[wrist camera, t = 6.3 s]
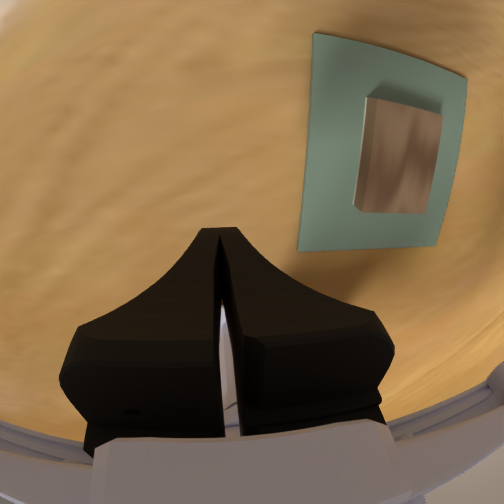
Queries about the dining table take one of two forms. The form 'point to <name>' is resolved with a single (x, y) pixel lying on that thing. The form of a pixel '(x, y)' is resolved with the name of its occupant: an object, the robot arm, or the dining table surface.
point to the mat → (349, 144)
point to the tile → (396, 158)
